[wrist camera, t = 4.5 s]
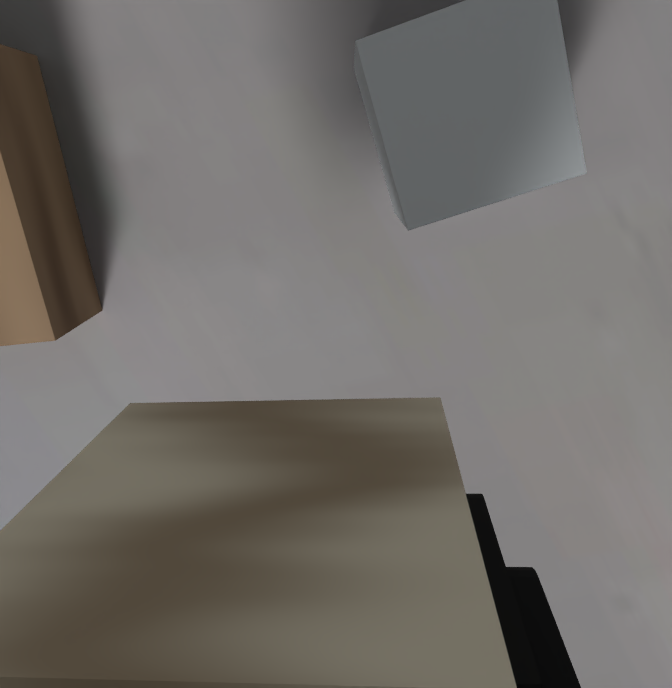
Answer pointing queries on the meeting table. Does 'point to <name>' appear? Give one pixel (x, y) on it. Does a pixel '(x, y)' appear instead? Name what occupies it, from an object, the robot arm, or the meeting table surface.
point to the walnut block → (37, 216)
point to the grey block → (470, 106)
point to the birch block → (253, 554)
